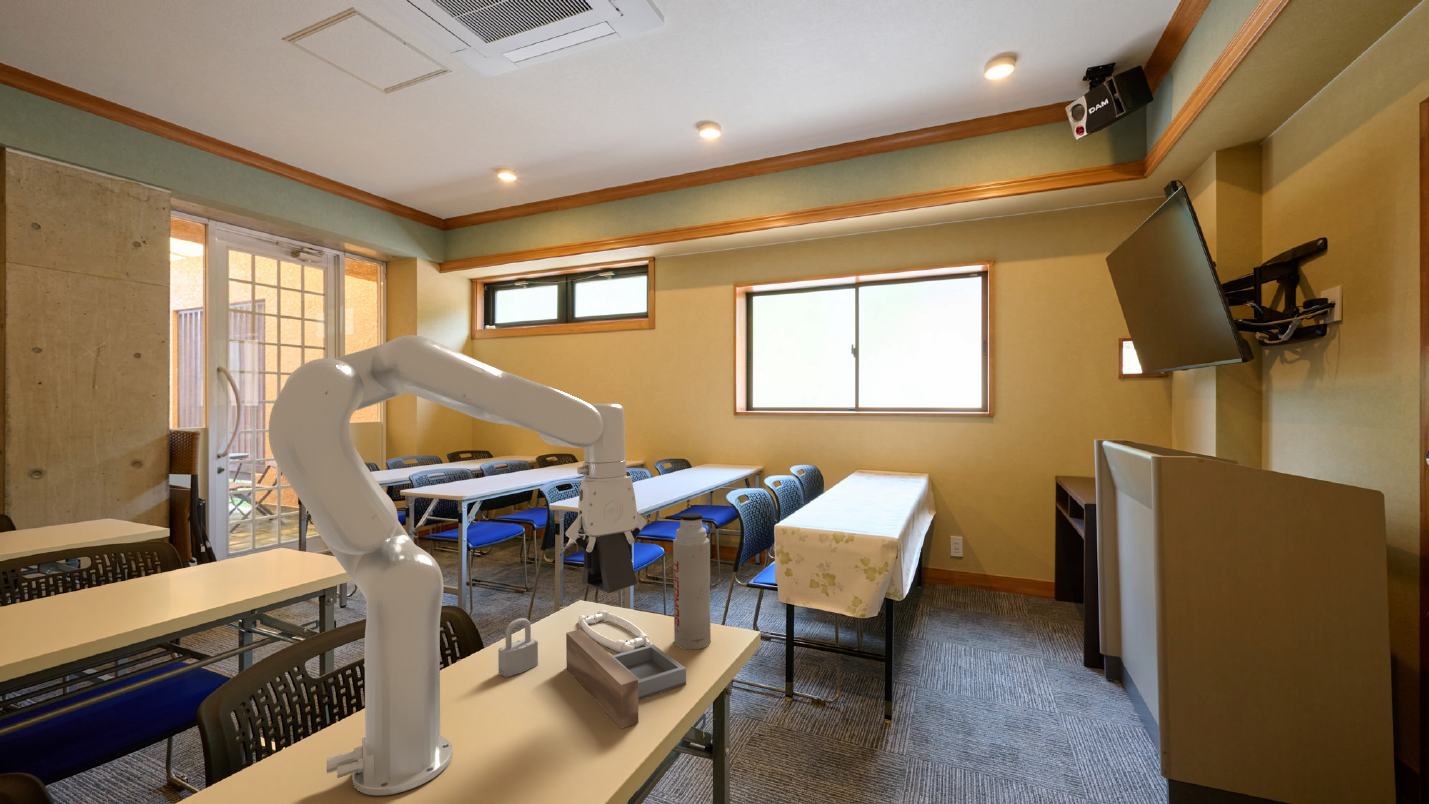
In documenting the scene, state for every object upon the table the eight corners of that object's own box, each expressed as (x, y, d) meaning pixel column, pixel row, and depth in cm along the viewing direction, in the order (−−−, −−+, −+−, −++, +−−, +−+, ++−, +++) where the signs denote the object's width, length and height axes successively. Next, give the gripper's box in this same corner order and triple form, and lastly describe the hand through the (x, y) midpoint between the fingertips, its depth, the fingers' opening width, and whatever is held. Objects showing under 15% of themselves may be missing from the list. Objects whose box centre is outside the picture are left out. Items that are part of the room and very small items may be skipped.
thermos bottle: (675, 650, 120) (673, 518, 120) (673, 635, 128) (672, 511, 128) (712, 648, 121) (710, 517, 121) (708, 633, 129) (707, 510, 129)
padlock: (529, 660, 116) (528, 611, 116) (540, 666, 114) (539, 616, 114) (496, 673, 111) (496, 621, 111) (507, 679, 108) (506, 626, 108)
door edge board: (621, 728, 91) (621, 684, 91) (566, 667, 113) (566, 632, 113) (639, 722, 93) (639, 679, 93) (582, 663, 114) (581, 628, 115)
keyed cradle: (637, 700, 100) (637, 683, 100) (607, 672, 111) (607, 656, 111) (686, 684, 105) (685, 668, 105) (653, 659, 116) (653, 644, 116)
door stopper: (581, 583, 105) (579, 518, 105) (608, 575, 110) (606, 513, 109) (609, 593, 99) (607, 525, 99) (637, 584, 103) (635, 519, 103)
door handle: (620, 662, 116) (569, 625, 136) (661, 649, 122) (606, 616, 142) (620, 649, 116) (569, 614, 136) (661, 636, 122) (606, 605, 142)
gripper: (567, 477, 96) (570, 583, 96) (656, 468, 106) (660, 564, 106) (552, 473, 102) (555, 572, 102) (638, 464, 112) (641, 555, 112)
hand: (608, 567), depth 104 cm, fingers closed on door stopper, 6 cm apart
